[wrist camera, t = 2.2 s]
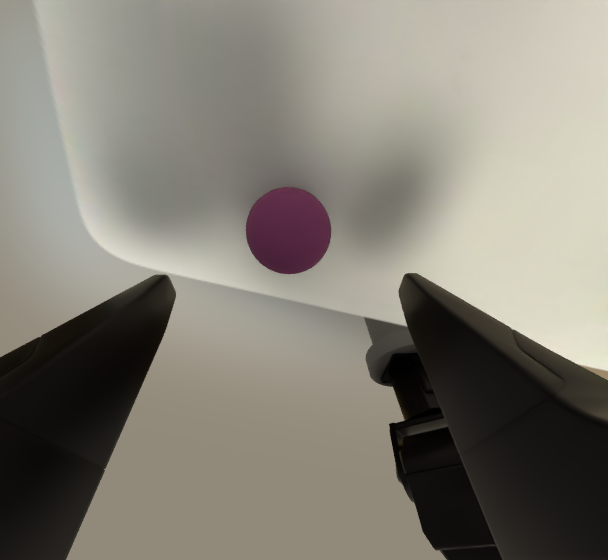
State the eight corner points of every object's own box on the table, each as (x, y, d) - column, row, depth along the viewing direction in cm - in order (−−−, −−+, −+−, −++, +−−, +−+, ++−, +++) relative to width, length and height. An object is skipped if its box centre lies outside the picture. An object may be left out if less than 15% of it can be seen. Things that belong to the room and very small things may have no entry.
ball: (323, 247, 15) (331, 291, 12) (256, 247, 15) (245, 291, 11) (329, 177, 12) (343, 207, 9) (247, 176, 12) (229, 206, 9)
